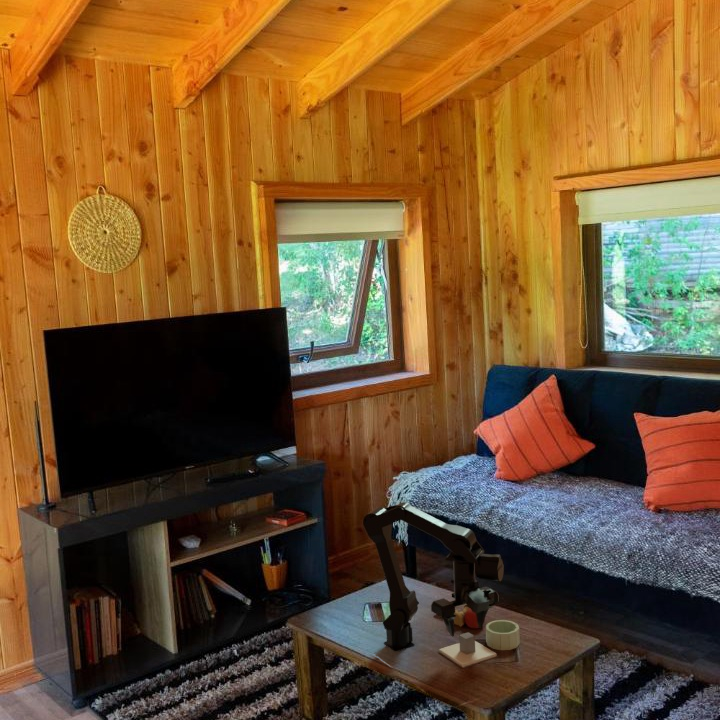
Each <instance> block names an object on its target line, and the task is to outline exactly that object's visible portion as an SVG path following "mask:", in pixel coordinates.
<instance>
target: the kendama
mask: <svg viewBox="0 0 720 720" xmlns="http://www.w3.org/2000/svg"><path fill="white" fill-rule="evenodd" d="M454 615H456V617H455V618H454V625H457V626H459V627H460V628H461V627H463V626H464V625H466V626H467V627H469V629H473V630H474V629H475V630H476V629H480V628H479V627H478V623H477V616H476V613H474V612H473V611H472V610H471V609H470V607H469V606H468V605H464V606H463V609H462V610H461V611H460V610H458V609H457V608H455V613H454ZM485 620H486V619H485ZM485 620H484V623H483V625H484V624H485Z"/></svg>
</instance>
